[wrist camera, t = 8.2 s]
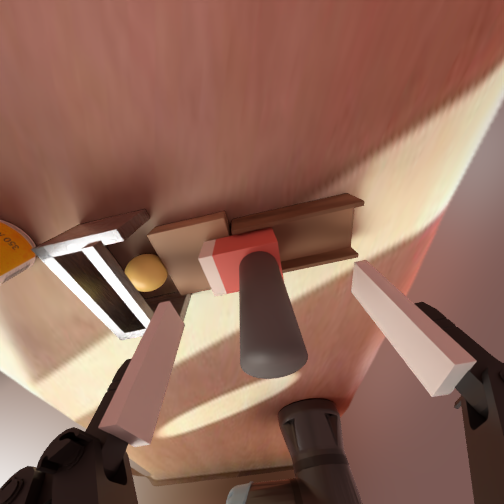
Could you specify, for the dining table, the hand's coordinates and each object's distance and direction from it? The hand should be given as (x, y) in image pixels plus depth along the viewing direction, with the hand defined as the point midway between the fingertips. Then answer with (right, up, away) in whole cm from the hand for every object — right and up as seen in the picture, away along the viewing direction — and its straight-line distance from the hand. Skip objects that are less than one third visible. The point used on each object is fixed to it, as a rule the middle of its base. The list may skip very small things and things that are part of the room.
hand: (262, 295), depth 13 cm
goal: (-13, +2, +8) cm, 16 cm away
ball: (-12, +1, +6) cm, 14 cm away
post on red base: (-2, +3, +6) cm, 7 cm away
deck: (-6, +3, +8) cm, 11 cm away
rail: (+4, +5, +7) cm, 10 cm away
